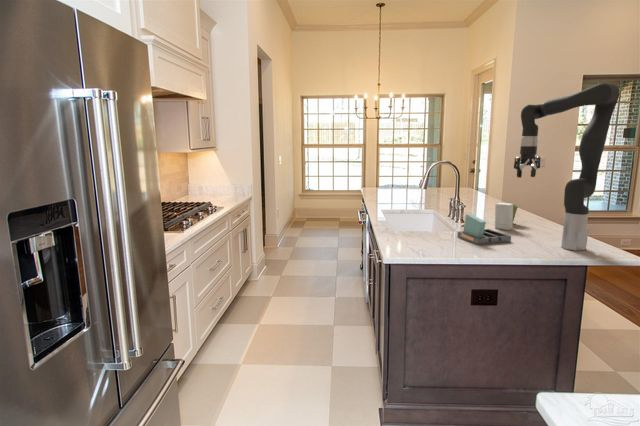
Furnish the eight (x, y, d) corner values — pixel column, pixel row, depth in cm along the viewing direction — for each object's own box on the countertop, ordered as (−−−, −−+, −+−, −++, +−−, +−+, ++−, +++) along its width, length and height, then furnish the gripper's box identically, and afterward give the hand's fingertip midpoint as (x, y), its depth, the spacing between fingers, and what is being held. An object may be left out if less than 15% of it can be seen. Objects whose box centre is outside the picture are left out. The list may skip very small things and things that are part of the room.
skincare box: (512, 228, 228) (514, 203, 225) (508, 230, 224) (510, 204, 221) (497, 226, 234) (499, 202, 231) (493, 228, 230) (495, 203, 227)
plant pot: (521, 224, 239) (523, 206, 237) (506, 226, 235) (508, 207, 233) (506, 220, 250) (507, 203, 248) (491, 222, 246) (493, 204, 244)
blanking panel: (482, 240, 200) (485, 221, 196) (477, 240, 199) (480, 222, 195) (467, 231, 210) (470, 213, 207) (463, 231, 210) (466, 214, 206)
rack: (510, 241, 200) (511, 236, 200) (477, 245, 195) (478, 239, 194) (488, 234, 216) (488, 228, 216) (457, 236, 211) (457, 231, 210)
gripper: (523, 145, 194) (520, 178, 197) (546, 145, 198) (543, 177, 201) (511, 145, 201) (509, 177, 204) (534, 145, 205) (531, 176, 208)
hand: (526, 177), depth 202 cm, fingers open, 8 cm apart
